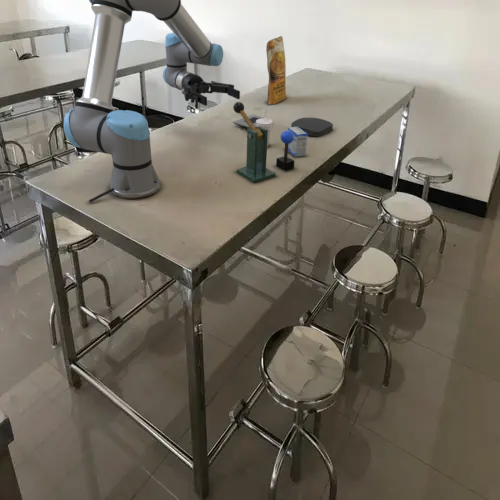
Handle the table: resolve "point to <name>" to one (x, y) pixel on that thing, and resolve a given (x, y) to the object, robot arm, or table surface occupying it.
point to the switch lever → (246, 118)
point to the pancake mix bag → (276, 70)
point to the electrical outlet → (252, 119)
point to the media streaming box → (313, 126)
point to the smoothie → (265, 125)
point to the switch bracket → (256, 157)
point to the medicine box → (298, 142)
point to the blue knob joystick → (285, 153)
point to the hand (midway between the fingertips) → (222, 98)
